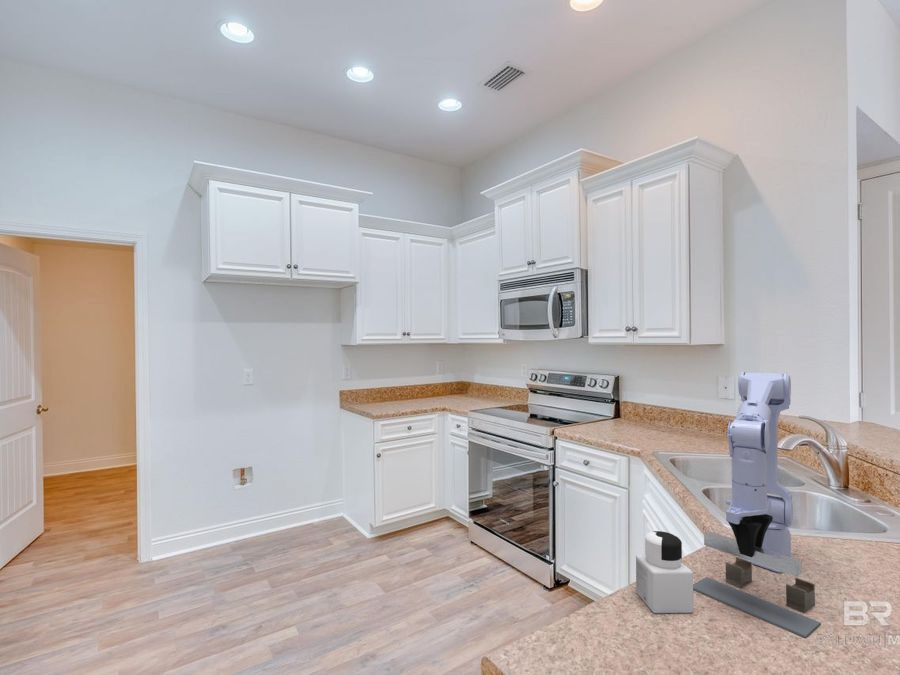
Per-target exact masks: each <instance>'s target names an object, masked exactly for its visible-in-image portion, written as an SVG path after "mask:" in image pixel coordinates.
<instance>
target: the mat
mask: <svg viewBox="0 0 900 675" xmlns="http://www.w3.org/2000/svg"><path fill="white" fill-rule="evenodd" d="M693 591H695V592H697V593H700V594H702V595H704V596H707V597H709V598H711V599H714V600H715V601H718V602H721V603H722V604H725V605H728V606H730V607H732V608H735V609H737V610H739V611H741V612H743V613H746V614H748V615H750V616H753V617H756V618H758V619H760V620H762V621H765V622H767V623H769V624H771V625H774V626H776V627H779V628H781V629H783V630H786V631H788V632H790V633H792V634H794V635H797V636H799V637H801V638H804V639H807V638H808V637H809V636H810V635H812V634H813V633H814V632H815V631H816V630H817V629H818V628H819V627H820V626H822V625H821V624H822V623H821V622H820V621H818V620H816V619H813V618H811V617H808V616H805V615H804V614H801V613H798V612H796V611H793V610H790V609H788V608H786V607H783V606H780V605H778V604H776V603H773V602H770V601H768V600H766V599H763V598H760V597H757V596H755V595H753V594H750V593H748V592H746V591H743V590H741V589H737V588H736V587H733V586H730V585H728V584H725V583H722V582H720V581H718V580H715V579H713V578H710V577H708V576H706V577H703V578H702V579H700V580H698V581H696V582H693Z"/></svg>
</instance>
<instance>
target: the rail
mask: <svg viewBox="0 0 900 675" xmlns="http://www.w3.org/2000/svg"><path fill="white" fill-rule="evenodd" d="M703 545H704V546H706V547H709V548H712V549H715V550H718V551H721V552H724V553H726V554H730V555H731V556H736V557H738V558H744V559H746V560H749V561H752V562H755V563H758V564H761V565H764V566H767V567H770V568H773V569H776V570H778V571H781V572H780V573H785V574H788V575H790V576H793V577H797V576H799V575H801V573H802V560H801V559H798V558H795V557H792V556H791V557H789V556H786V555H783V554H779V553H776V552H773V551H770V550H767V549H764V548H760V547H757V546H755V551H754V555H753V557H748V556H746V555H743V554H740V552H739V549H738V545H737V541H736V538H731V537H728V536H725V535H722V534H719V533H716V532H712V531H708V532H705V533H704V534H703Z"/></svg>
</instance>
